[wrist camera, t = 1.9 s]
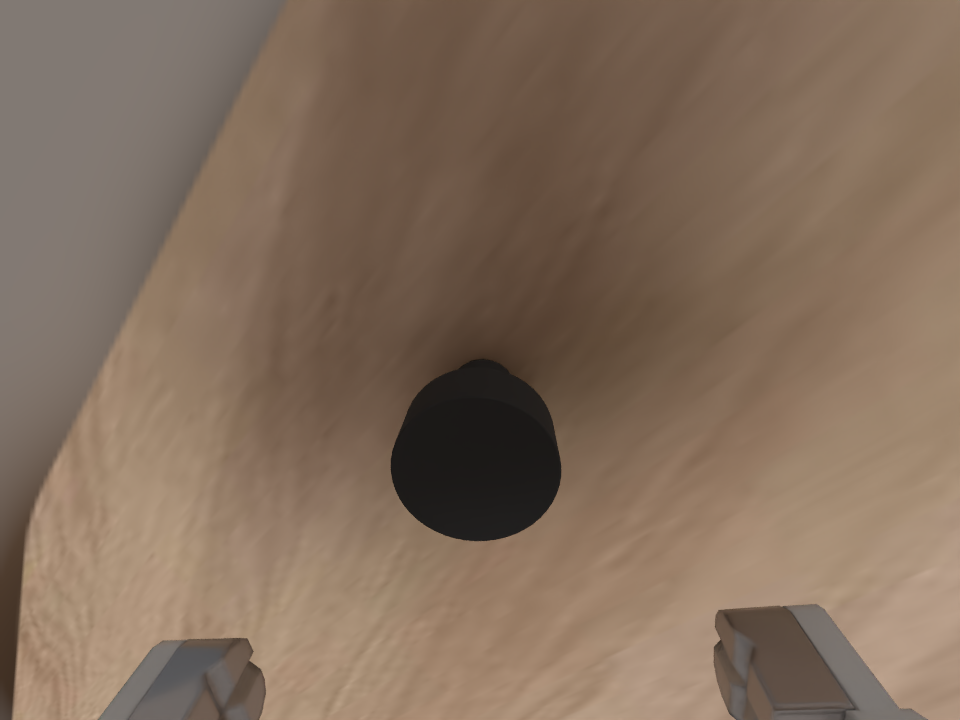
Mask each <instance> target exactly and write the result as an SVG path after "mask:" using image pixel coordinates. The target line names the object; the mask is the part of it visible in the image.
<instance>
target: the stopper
mask: <svg viewBox="0 0 960 720" xmlns="http://www.w3.org/2000/svg"><path fill="white" fill-rule="evenodd" d="M391 475H392V480H393V484H394V487H395V490H396V492H397V494H398V496H399V498H400V500H401V501H402V503H403V504H404V506H405V507H406V508H407V510H408V511H409V512H410V513H411V514H412V515H413V516H414V517H415V518H416V519H417V520H419V521H420V522H421V523H423V524H424V525H425V526H427V527H429V528H431V529H432V530H434V531H436V532H438V533H441V534H443V535H446V536H449V537H452V538H456V539H462V540H469V541H488V540H496V539H500V538H505V537H508V536H511V535H514V534H516V533H518V532H520V531H522V530H524V529H526V528H527V527H529V526H531V525H532V524H533V523H535V522H536V521H537V520H538V519H539V518H541V516H542V515H543V514H544V513H545V512H546V511H547V510H548V508H549V507H550V505H551V504H552V502H553V500H554V498H555V496H556V494H557V491H558V488H559V485H560V479H561V462H560V455H559V451H558V446H557V441H556V436H555V431H554V426H553V421H552V418H551V415H550V412H549V410H548V408H547V406H546V404H545V403H544V401H543V400H542V398H541V397H540V396H539V395H538V393H537V392H536V391H535V390H534V389H533V388H531V387H530V386H529V385H528V384H527V383H525V382H524V381H522V380H521V379H519V378H517V377H515V376H513V375H511V374H510V373H509V372H508V371H507V369H506V368H504V367H503V366H502V365H500V364H498V363H496V362H494V361H490V360H474V361H471V362H469V363H466V364H465V365H463V366H462V367H461V368H459V369H458V370H455V371H452V372H448V373H446V374H444V375H442V376H439V377H438V378H436V379H434V380H433V381H431V382H430V383H429V384H427V385H426V386H425V387H424V388H423V389H422V390H421V391H420V392H419V393H418V394H417V396H416V397H415V398H414V400H413V401H412V403H411V405H410V407H409V409H408V412H407V414H406V417H405V419H404V422H403V424H402V427H401V429H400V432H399V434H398V437H397V439H396V442H395V445H394V448H393V451H392V457H391Z"/></svg>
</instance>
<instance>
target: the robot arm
mask: <svg viewBox="0 0 960 720" xmlns="http://www.w3.org/2000/svg"><path fill="white" fill-rule="evenodd" d="M715 628H716V630H717V633H718V635H719V637H720V639H721V640H720V641H719V642H718V643H717V644H716V645H715V646H714V667H715V672H716V678H717V682H718V685H719V688H720V692H721V695H722V698H723V700H724V702H725V705H726V707H727V710H728V712H729V714H730V715H731V716H732V717H734V718H735V719H736V720H928V719H926V718H925V717H923V716H922V715H920V714H919V713H917V712H916V711H914V710H913V709H899V707H898V706H897V705H896V703H895V702H894V701H893V699H892V698H891V697H890V695H889V694H888V693H887V691H886V690H885V689H884V687H883V686H882V685H881V683H880V682H879V681H878V680H877V678H876V677H875V676H874V674H873V673H872V672H871V670H870V669H869V668H868V666H867V665H866V664H865V662H864V661H863V660H862V658H861V657H860V656H859V654H858V653H857V652H856V650H855V649H854V648H853V646H852V645H851V644H850V643H849V641H848V640H847V639H846V637H845V636H844V635H843V633H842V632H841V631H840V629H839V628H838V627H837V625H836V624H835V623H834V621H833V620H832V619H831V617H830V616H829V615H828V613H827V612H826V611H825V610H824V609H823V608H822V607H820V606H819V605H817V604H810V605H793V606H783V607H781V606H768V607H754V608H739V609H725V610H718V612H717V614H716V618H715ZM253 652H254V651H253V649H252V647H251V645H250V643H249V641H248V639H247V638H224V639H189V640H166V641H162V642H160V643H159V644H157V645H156V646H154V647H153V648H152V649H151V650H150V652H149V653H148V654H147V655H146V657H145V658H144V659H143V661H142V662H141V663H140V665H139V666H138V667H137V669H136V670H135V671H134V673H133V674H132V675H131V677H130V678H129V679H128V681H127V682H126V683H125V684H124V686H123V687H122V688H121V690H120V691H119V692H118V694H117V695H116V696H115V698H114V699H113V700H112V702H111V703H110V704H109V706H108V707H107V708H106V709H105V711H104V712H103V713H102V715H101V716H100V717H99V719H98V720H259V718H260V716H261V714H262V710H263V705H264V700H265V695H266V688H265V679H264V676H263V673H262V671H261V669H260V668H258V667H257V666H256V665H254V664H253V663H252V662H250V661H249V660H250V658H251V656H252V654H253Z"/></svg>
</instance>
